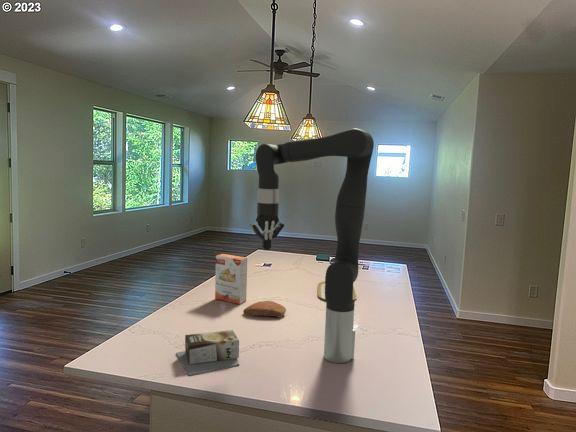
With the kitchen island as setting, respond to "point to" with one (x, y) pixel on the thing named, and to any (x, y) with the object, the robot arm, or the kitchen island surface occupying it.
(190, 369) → the mat
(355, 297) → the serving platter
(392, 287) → the kitchen island surface
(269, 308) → the ceramic shard
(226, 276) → the cracker box
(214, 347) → the coffee box
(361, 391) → the kitchen island surface
